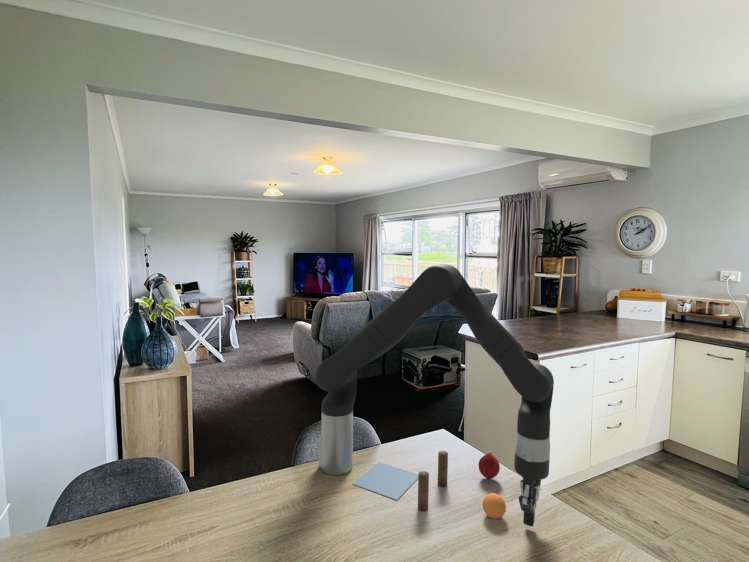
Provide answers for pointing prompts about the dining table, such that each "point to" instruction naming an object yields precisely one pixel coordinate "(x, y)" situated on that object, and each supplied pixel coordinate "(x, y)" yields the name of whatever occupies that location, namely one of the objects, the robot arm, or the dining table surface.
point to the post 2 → (442, 468)
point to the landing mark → (387, 480)
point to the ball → (494, 505)
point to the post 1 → (423, 490)
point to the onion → (489, 466)
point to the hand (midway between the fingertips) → (528, 523)
